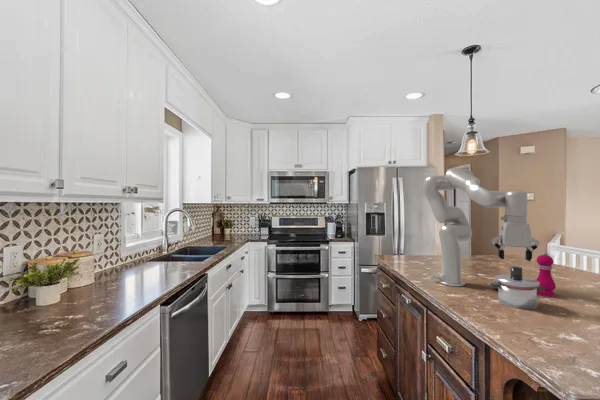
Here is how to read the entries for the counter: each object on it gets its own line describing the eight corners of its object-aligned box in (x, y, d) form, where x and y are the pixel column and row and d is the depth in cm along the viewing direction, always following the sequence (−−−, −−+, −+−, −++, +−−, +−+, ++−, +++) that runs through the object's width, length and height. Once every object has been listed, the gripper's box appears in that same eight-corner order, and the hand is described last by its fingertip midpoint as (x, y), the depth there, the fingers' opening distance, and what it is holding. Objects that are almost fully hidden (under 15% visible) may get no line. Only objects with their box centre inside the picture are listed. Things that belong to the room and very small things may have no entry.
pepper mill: (550, 292, 134) (550, 250, 134) (559, 297, 127) (558, 253, 127) (532, 291, 136) (531, 250, 136) (539, 296, 129) (539, 252, 129)
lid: (502, 286, 115) (502, 270, 115) (490, 276, 129) (489, 262, 129) (547, 289, 110) (547, 272, 110) (529, 279, 125) (528, 264, 125)
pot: (497, 307, 116) (497, 285, 116) (486, 296, 129) (486, 277, 129) (552, 312, 110) (552, 289, 110) (535, 300, 123) (534, 280, 123)
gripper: (495, 220, 119) (494, 260, 119) (544, 221, 114) (543, 263, 114) (489, 218, 126) (488, 256, 127) (535, 219, 121) (534, 259, 121)
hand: (514, 259), depth 120 cm, fingers open, 9 cm apart
